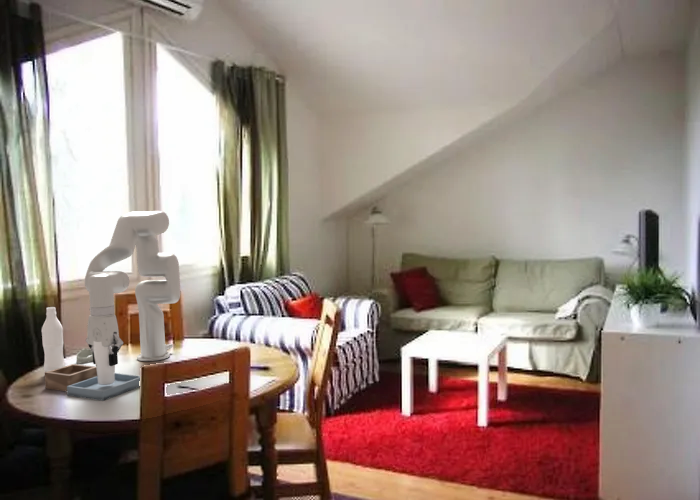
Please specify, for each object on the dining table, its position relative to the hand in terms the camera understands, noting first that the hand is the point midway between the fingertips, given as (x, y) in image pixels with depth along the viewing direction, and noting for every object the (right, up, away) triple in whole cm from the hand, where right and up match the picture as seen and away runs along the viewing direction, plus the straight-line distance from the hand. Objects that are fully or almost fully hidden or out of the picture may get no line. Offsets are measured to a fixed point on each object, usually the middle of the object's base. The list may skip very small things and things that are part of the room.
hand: (105, 363), depth 207 cm
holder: (-14, -9, +7) cm, 18 cm away
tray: (0, -9, +1) cm, 9 cm away
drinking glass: (0, -7, +1) cm, 7 cm away
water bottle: (-27, -8, +22) cm, 36 cm away
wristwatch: (-24, -7, +42) cm, 48 cm away
